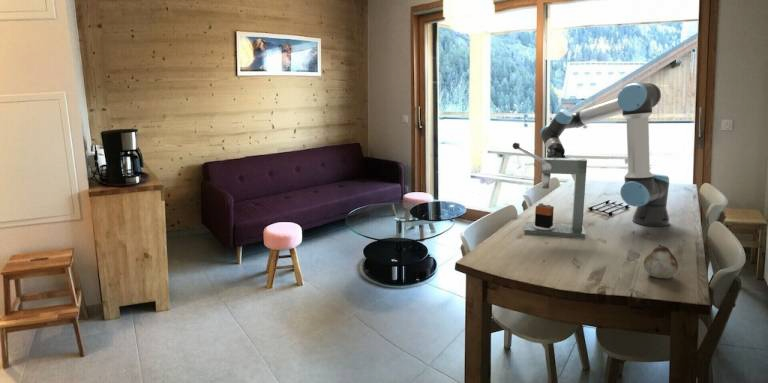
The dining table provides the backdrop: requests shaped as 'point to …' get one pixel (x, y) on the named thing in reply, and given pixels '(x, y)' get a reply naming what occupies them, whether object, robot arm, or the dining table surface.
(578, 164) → the arbor press
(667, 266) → the fruit
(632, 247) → the dining table surface
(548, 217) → the battery
